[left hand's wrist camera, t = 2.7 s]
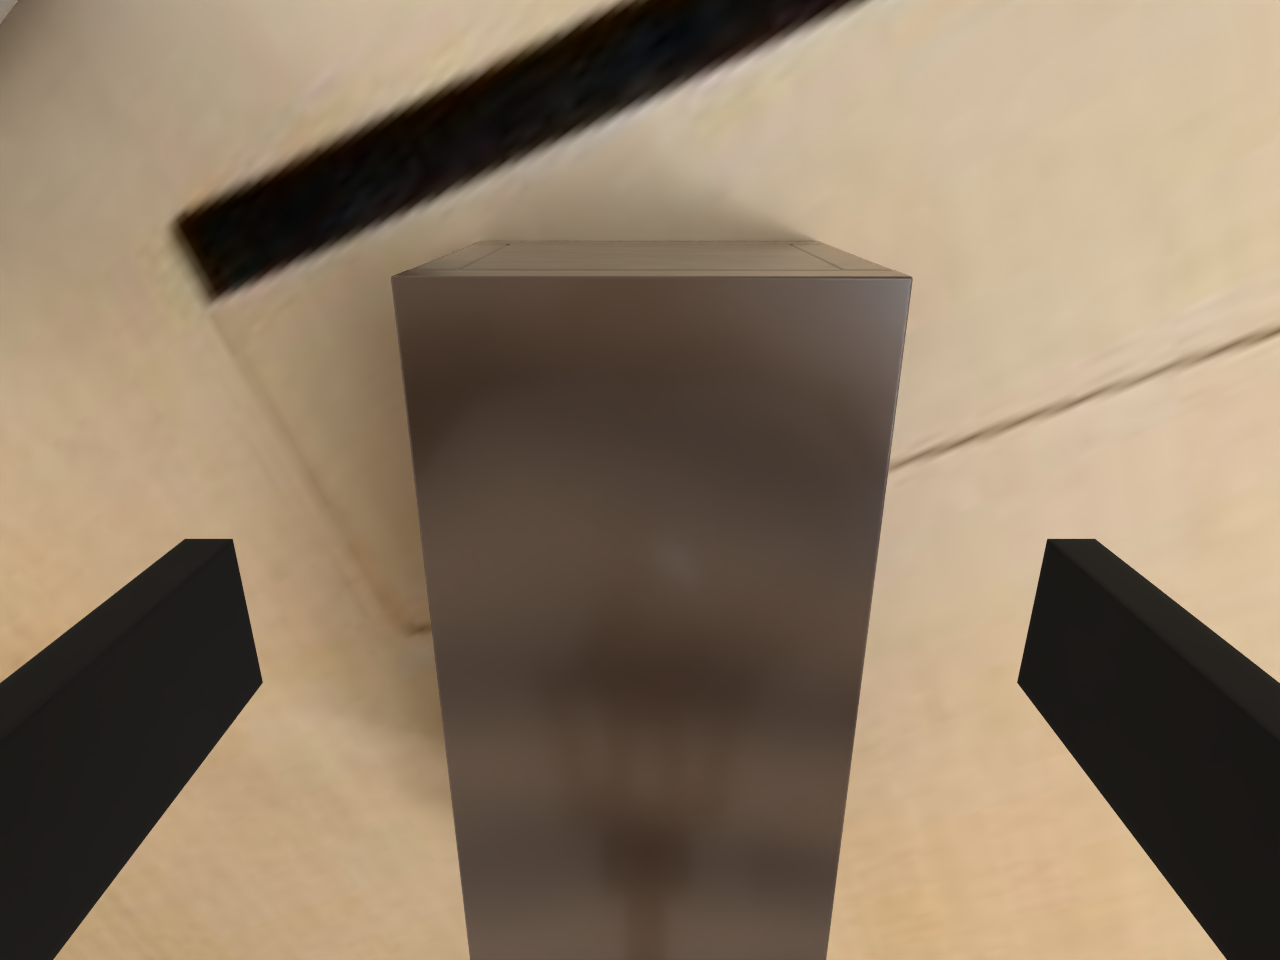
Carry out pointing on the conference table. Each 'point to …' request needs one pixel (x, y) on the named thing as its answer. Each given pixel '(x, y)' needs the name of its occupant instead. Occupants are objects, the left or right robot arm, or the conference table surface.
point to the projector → (6, 8)
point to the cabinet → (650, 580)
